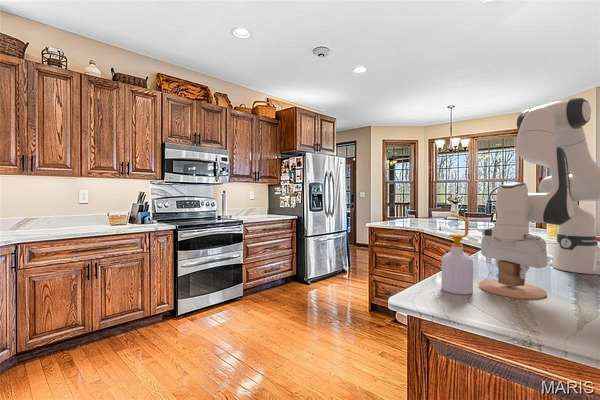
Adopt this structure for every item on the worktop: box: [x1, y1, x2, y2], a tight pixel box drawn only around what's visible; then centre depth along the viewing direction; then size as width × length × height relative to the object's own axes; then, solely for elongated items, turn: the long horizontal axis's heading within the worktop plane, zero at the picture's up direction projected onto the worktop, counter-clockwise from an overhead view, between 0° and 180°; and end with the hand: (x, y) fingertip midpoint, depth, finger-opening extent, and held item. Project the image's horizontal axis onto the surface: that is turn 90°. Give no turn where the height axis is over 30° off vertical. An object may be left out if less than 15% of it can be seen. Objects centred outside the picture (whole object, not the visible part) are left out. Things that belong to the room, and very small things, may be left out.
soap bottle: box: [441, 213, 474, 296], centre depth 101 cm, size 9×9×25 cm
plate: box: [478, 279, 548, 300], centre depth 102 cm, size 18×18×1 cm
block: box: [497, 261, 526, 287], centre depth 102 cm, size 5×5×7 cm
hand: (511, 275), depth 102 cm, fingers closed on block, 5 cm apart
